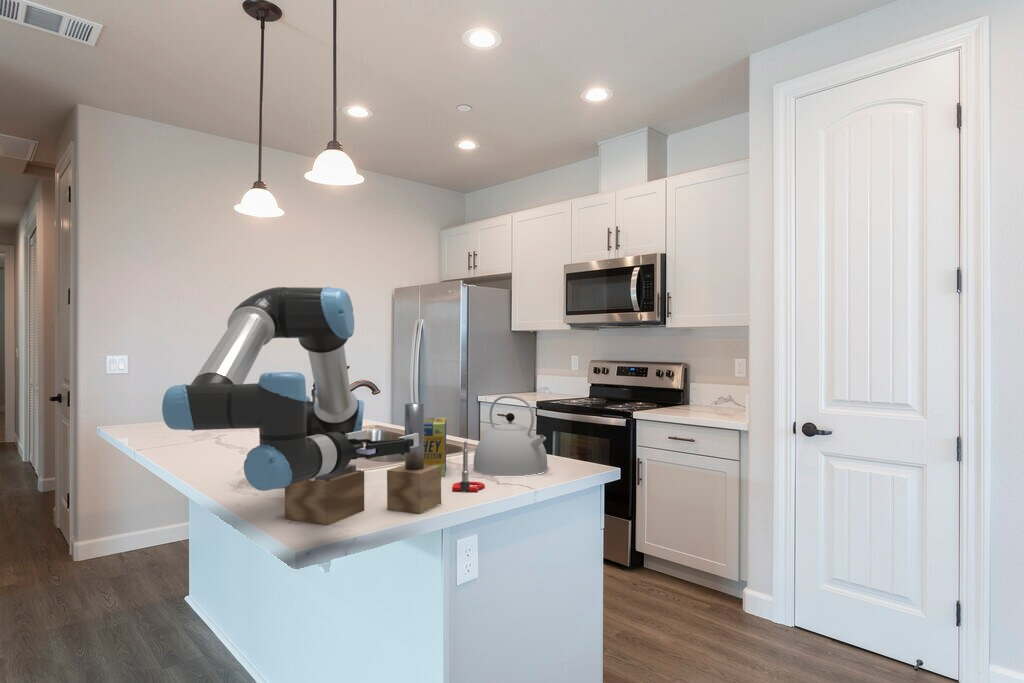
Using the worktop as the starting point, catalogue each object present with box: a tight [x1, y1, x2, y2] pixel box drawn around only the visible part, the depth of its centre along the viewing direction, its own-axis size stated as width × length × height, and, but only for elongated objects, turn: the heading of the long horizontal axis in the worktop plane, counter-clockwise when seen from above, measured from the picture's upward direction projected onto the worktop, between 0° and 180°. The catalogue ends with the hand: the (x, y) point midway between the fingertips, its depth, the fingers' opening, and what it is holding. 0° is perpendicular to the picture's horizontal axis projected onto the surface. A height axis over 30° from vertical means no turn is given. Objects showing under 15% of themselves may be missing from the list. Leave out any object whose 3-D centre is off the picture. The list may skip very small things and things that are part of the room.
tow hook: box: [451, 440, 486, 493], centre depth 155 cm, size 8×13×9 cm
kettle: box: [472, 394, 549, 477], centre depth 178 cm, size 25×23×23 cm
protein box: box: [424, 417, 447, 478], centre depth 174 cm, size 10×15×16 cm
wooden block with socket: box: [284, 463, 365, 526], centre depth 131 cm, size 12×12×10 cm
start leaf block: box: [386, 464, 442, 514], centre depth 137 cm, size 9×9×9 cm
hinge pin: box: [404, 402, 425, 470], centre depth 137 cm, size 4×4×15 cm
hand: (391, 437), depth 129 cm, fingers open, 13 cm apart
